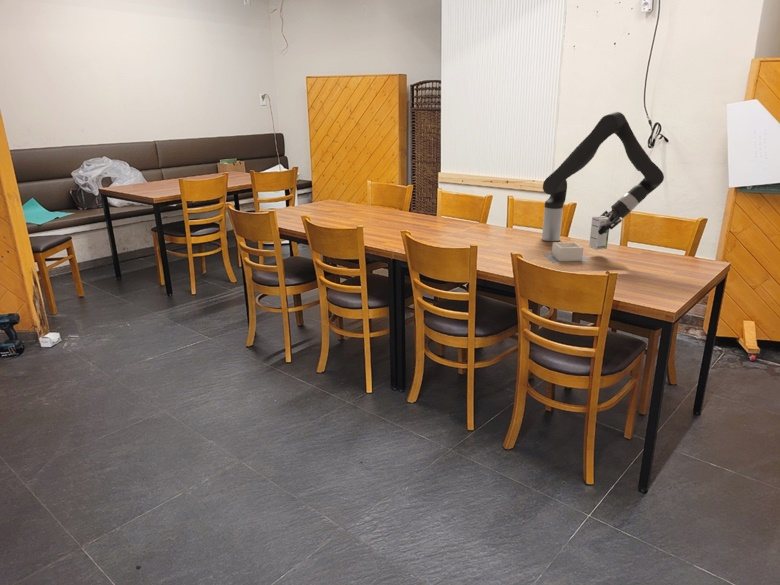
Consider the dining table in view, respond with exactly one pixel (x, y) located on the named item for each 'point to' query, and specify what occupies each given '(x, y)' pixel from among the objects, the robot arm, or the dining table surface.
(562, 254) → the ceramic holder
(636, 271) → the dining table surface
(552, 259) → the slate board
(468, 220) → the dining table surface
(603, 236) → the syrup box
